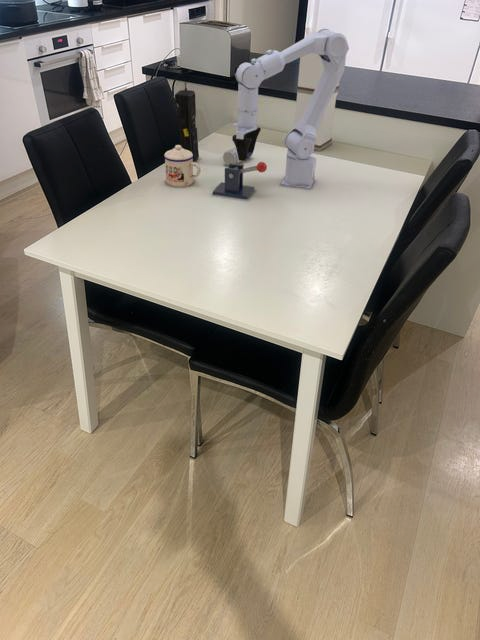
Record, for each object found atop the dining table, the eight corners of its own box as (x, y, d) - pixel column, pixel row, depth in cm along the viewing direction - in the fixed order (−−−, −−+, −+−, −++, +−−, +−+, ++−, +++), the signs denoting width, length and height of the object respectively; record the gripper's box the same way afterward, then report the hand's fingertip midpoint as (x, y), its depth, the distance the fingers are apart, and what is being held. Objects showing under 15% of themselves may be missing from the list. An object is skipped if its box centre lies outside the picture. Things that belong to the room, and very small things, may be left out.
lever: (268, 169, 152) (266, 159, 150) (266, 173, 150) (263, 163, 148) (232, 176, 157) (230, 166, 155) (229, 179, 154) (226, 170, 153)
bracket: (254, 190, 160) (255, 164, 155) (247, 200, 154) (247, 173, 149) (221, 185, 162) (221, 160, 157) (212, 195, 156) (212, 168, 151)
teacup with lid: (160, 184, 162) (157, 147, 155) (174, 174, 169) (172, 139, 162) (193, 191, 158) (192, 154, 151) (206, 181, 165) (206, 145, 158)
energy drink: (234, 169, 175) (252, 159, 183) (236, 154, 172) (254, 144, 180) (221, 164, 177) (240, 154, 185) (223, 149, 173) (242, 140, 182)
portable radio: (193, 165, 176) (191, 88, 161) (176, 164, 177) (173, 87, 161) (199, 158, 182) (197, 83, 167) (183, 156, 183) (180, 81, 168)
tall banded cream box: (331, 143, 198) (344, 43, 177) (319, 151, 191) (332, 47, 170) (304, 138, 203) (314, 39, 182) (292, 145, 196) (301, 43, 175)
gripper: (242, 102, 153) (240, 147, 161) (226, 114, 142) (226, 162, 150) (264, 104, 152) (262, 149, 160) (250, 117, 141) (248, 165, 149)
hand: (246, 156), depth 155 cm, fingers open, 7 cm apart
